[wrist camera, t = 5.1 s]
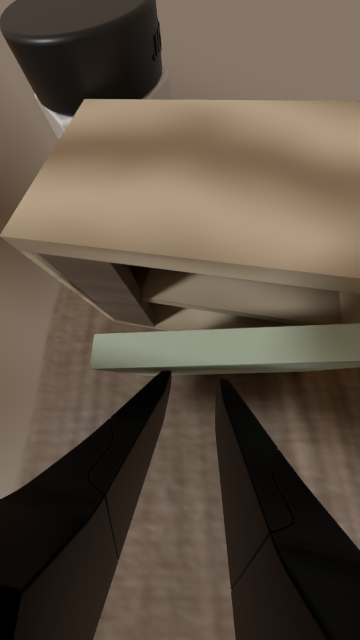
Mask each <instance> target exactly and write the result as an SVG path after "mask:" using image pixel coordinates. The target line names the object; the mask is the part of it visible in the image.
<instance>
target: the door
mask: <svg viewBox="0 0 360 640" xmlns="http://www.w3.org/2000/svg"><path fill="white" fill-rule="evenodd" d="M355 367H360V323H359V324H334V325H310V326H285V327H261V328H236V329H212V330H187V331H163V332H138V333H114V334H94V341H93V348H92V356H91V363H90V369H95V370H104V371H112V372H121V373H129V374H138V375H146V376H156V375H158V374H159V373H160V372H161V371H172V375H198V374H235V373H273V372H307V371H319V370H331V369H343V368H355Z"/></svg>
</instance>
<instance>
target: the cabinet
mask: <svg viewBox="0 0 360 640" xmlns="http://www.w3.org/2000/svg"><path fill="white" fill-rule="evenodd" d="M0 237H2V238H3V239H4V240H6V241H7V242H8V243H10V244H11V245H12V246H14V247H15V248H16V249H18V250H19V251H20V252H22V253H23V254H24V255H26V256H27V257H28V258H30V259H31V260H32V261H34V262H35V263H36V264H38V265H39V266H40V267H42V268H43V269H44V270H46V271H47V272H48V273H50V274H51V275H52V276H54V277H55V278H57V279H58V280H59V281H60V282H62V283H63V284H64V285H66V286H67V287H68V288H70V289H71V290H72V291H74V292H75V293H76V294H78V295H79V296H80V297H82V298H83V299H84V300H86V301H87V302H88V303H90V304H91V305H92V306H94V307H95V308H96V309H98V310H99V311H100V312H102V313H103V314H104V315H106V316H107V317H108V318H110V319H111V320H112V321H114V322H119V323H125V324H131V325H137V326H143V327H149V328H154V329H160V330H166V331H187V330H212V329H236V328H261V327H285V326H310V325H334V324H359V323H360V101H275V100H273V101H272V100H271V101H270V100H269V101H268V100H145V99H84V101H83V102H82V104H81V105H80V107H79V109H78V110H77V112H76V113H75V115H74V117H73V118H72V120H71V122H70V123H69V125H68V126H67V128H66V130H65V131H64V133H63V134H62V136H61V138H60V139H59V141H58V143H57V144H56V146H55V147H54V149H53V151H52V152H51V154H50V156H49V157H48V159H47V160H46V162H45V164H44V165H43V167H42V168H41V170H40V172H39V173H38V175H37V176H36V178H35V180H34V181H33V183H32V185H31V186H30V188H29V189H28V191H27V193H26V194H25V196H24V197H23V199H22V201H21V202H20V204H19V206H18V207H17V209H16V210H15V212H14V214H13V215H12V217H11V218H10V220H9V222H8V223H7V225H6V226H5V228H4V230H3V232H2V233H1V235H0Z"/></svg>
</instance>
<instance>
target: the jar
mask: <svg viewBox="0 0 360 640" xmlns="http://www.w3.org/2000/svg"><path fill="white" fill-rule="evenodd" d="M0 29H1V32H2V34H3V36H4V38H5V40H6V41H7V43H8V45H9V47H10V49H11V51H12V52H13V54H14V56H15V58H16V60H17V61H18V63H19V65H20V67H21V69H22V71H23V72H24V74H25V76H26V78H27V80H28V81H29V83H30V85H31V87H32V89H33V90H34V92H35V97H36V99H37V101H38V103H39V104H40V107H41V108H42V110H43V112H44V113H45V116H46V117H47V119H48V121H49V123H50V124H51V126H52V128H53V130H54V132H55V133H56V135H57V137H58V139H60V138H61V136H62V134H63V133H64V131H65V130H66V128H67V126H68V125H69V123H70V122H71V120H72V118H73V117H74V115H75V113H76V112H77V110H78V109H79V107H80V105H81V104H82V102H83V101H84V99H145V100H172V97H171V85H170V74H169V71H168V70H166V69H165V68H163V67H162V60H161V36H160V26H159V21H158V18H157V9H156V0H16V1H15V2H13V3H12V4H11V5H9V6H8V7H7V8H6V9H5V10H4V12H3V13H2V15H1V17H0Z"/></svg>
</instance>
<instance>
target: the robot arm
mask: <svg viewBox="0 0 360 640" xmlns="http://www.w3.org/2000/svg"><path fill="white" fill-rule="evenodd" d="M171 377H172V371H161V372H160V373H159V374H158V375H156V376H155V377H154V378H153V379H152V380H151V381H150V382H149V383H148V384H147V385H146V386H144V387H143V388H142V389H141V390H140V391H139V392H138V393H137V394H136V395H135V396H133V397H132V398H131V399H130V400H129V401H128V402H127V403H126V404H125V405H124V406H123V407H121V408H120V409H119V410H118V411H117V412H116V413H115V414H114V415H113V416H112V417H111V419H108V420H107V421H106V422H105V423H104V424H103V425H102V426H100V427H99V428H98V429H97V430H96V431H95V432H94V433H92V434H91V435H90V436H89V437H88V438H86V439H85V440H84V441H83V442H81V443H80V444H79V445H78V446H76V447H75V448H74V449H72V450H71V451H70V452H69V453H67V454H66V455H65V456H63V457H62V458H61V459H59V460H58V461H57V462H55V463H54V464H53V465H52V466H50V467H49V468H48V469H46V470H45V471H44V472H42V473H41V474H40V475H38V476H37V477H36V478H34V479H33V480H32V481H30V482H29V483H28V484H26V485H25V486H23V487H21V488H20V489H18V490H17V491H15V492H13V493H11V494H10V495H8V496H6V497H4V498H2V499H0V640H93V638H94V635H95V632H96V628H97V625H98V622H99V619H100V616H101V613H102V610H103V607H104V604H105V601H106V598H107V595H108V591H109V588H110V585H111V582H112V579H113V576H114V573H115V570H116V567H117V564H118V560H119V557H120V554H121V551H122V548H123V545H124V542H125V539H126V536H127V533H128V530H129V526H130V523H131V520H132V517H133V514H134V511H135V508H136V505H137V502H138V499H139V496H140V493H141V489H142V486H143V483H144V480H145V477H146V474H147V471H148V468H149V465H150V462H151V459H152V455H153V452H154V449H155V446H156V443H157V440H158V437H159V434H160V431H161V428H162V425H163V421H164V417H165V413H166V408H167V403H168V398H169V393H170V388H171ZM215 431H216V443H217V453H218V463H219V473H220V483H221V493H222V504H223V514H224V524H225V534H226V544H227V554H228V565H229V575H230V585H231V590H232V591H231V596H232V606H233V616H234V626H235V637H236V640H360V550H359V549H358V548H357V546H356V545H355V544H354V543H353V542H352V540H351V539H350V538H349V537H348V536H347V534H346V533H345V532H344V531H343V530H342V528H341V527H340V526H339V525H338V524H337V522H336V521H335V520H334V519H333V518H332V516H331V515H330V514H329V513H328V512H327V510H326V509H325V508H324V507H323V506H322V504H321V503H320V502H319V501H318V500H317V498H316V497H315V496H314V495H313V493H312V492H311V491H310V490H309V489H308V487H307V486H306V485H305V484H304V482H303V481H302V480H301V479H300V477H299V476H298V475H297V473H296V472H295V471H294V469H293V468H292V467H291V465H290V464H289V463H288V461H287V460H286V459H285V457H284V456H283V454H282V453H281V452H280V450H277V449H278V448H277V446H276V445H275V443H274V442H273V441H272V439H271V438H270V437H269V435H268V434H267V432H266V431H265V430H264V428H263V427H262V425H261V424H260V423H259V421H258V420H257V418H256V417H255V416H254V414H253V413H252V412H251V410H250V409H249V407H248V406H247V405H246V403H245V402H244V400H243V399H242V398H241V396H240V395H239V393H238V392H237V391H236V389H235V388H234V387H233V385H232V384H231V382H230V381H229V380H228V379H225V378H219V380H218V384H217V389H216V406H215Z"/></svg>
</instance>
